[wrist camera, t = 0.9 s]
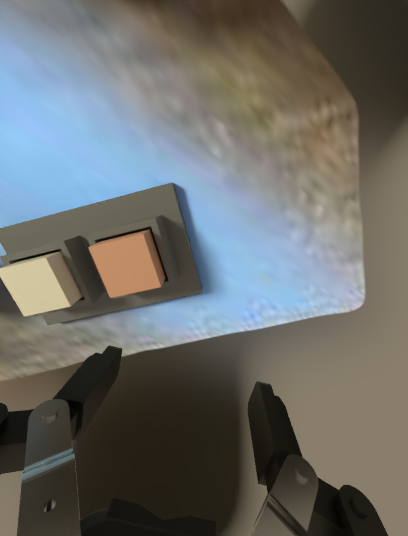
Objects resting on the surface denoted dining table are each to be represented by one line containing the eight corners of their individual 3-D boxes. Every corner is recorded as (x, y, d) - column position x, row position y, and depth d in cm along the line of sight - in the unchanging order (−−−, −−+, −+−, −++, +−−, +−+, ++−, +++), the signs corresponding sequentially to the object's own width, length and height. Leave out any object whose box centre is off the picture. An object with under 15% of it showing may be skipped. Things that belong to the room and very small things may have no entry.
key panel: (3, 228, 31) (-34, 235, 26) (173, 183, 29) (166, 181, 24) (54, 320, 36) (31, 339, 32) (202, 288, 34) (201, 304, 29)
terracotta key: (100, 241, 27) (88, 247, 24) (150, 229, 26) (143, 233, 24) (119, 287, 29) (110, 298, 26) (165, 277, 28) (161, 287, 26)
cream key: (17, 262, 28) (-5, 269, 25) (62, 250, 28) (45, 257, 25) (41, 304, 30) (24, 316, 28) (83, 295, 30) (70, 306, 27)
